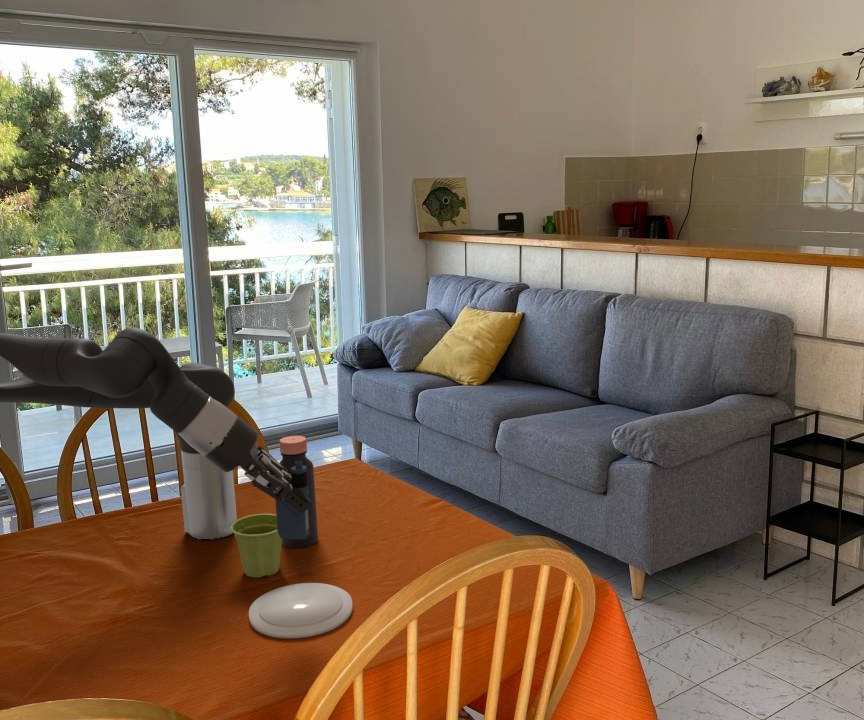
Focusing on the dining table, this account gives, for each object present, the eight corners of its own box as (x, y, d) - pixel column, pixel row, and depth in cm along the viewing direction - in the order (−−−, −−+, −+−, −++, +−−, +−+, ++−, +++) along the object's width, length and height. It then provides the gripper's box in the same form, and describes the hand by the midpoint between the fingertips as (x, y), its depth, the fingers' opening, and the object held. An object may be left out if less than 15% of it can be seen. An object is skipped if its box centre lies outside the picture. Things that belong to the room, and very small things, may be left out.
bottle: (311, 531, 166) (305, 432, 162) (323, 544, 160) (316, 441, 156) (277, 538, 163) (269, 437, 159) (287, 551, 157) (279, 446, 153)
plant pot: (299, 562, 152) (295, 516, 150) (272, 585, 143) (268, 537, 142) (252, 556, 155) (249, 511, 153) (224, 579, 146) (219, 531, 145)
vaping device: (307, 540, 130) (303, 464, 128) (275, 538, 131) (270, 463, 129) (313, 534, 132) (309, 459, 130) (281, 532, 133) (276, 458, 131)
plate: (227, 626, 130) (226, 617, 130) (288, 582, 144) (288, 574, 144) (315, 647, 123) (315, 638, 123) (371, 598, 138) (370, 590, 137)
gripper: (202, 439, 133) (286, 505, 138) (199, 467, 119) (293, 539, 124) (234, 403, 133) (317, 470, 138) (235, 427, 119) (327, 500, 124)
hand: (305, 502), depth 131 cm, fingers closed on vaping device, 3 cm apart
